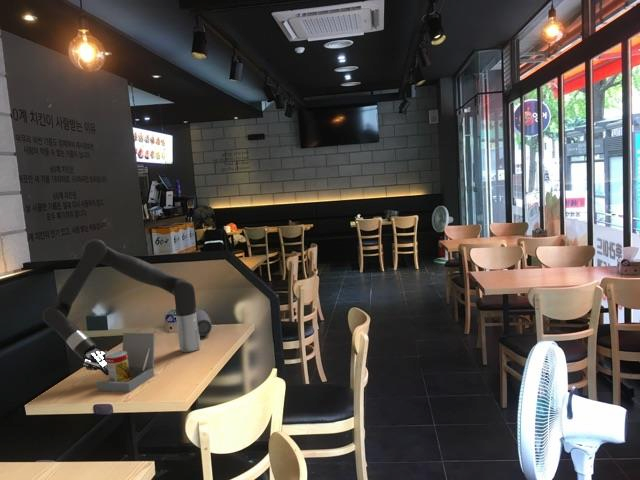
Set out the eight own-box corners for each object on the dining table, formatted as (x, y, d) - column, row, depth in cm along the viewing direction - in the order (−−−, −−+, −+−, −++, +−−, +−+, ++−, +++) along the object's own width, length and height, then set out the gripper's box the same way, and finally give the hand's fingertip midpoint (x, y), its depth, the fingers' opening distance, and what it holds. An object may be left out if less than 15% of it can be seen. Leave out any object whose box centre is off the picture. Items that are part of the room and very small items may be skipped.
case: (97, 390, 207) (91, 348, 205) (129, 371, 226) (124, 332, 223) (129, 392, 202) (123, 349, 200) (160, 372, 221) (154, 332, 219)
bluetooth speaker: (191, 328, 284) (189, 310, 283) (209, 325, 287) (207, 307, 286) (195, 339, 263) (192, 320, 262) (213, 336, 266) (211, 317, 264)
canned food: (135, 379, 215) (131, 351, 214) (121, 387, 208) (116, 358, 206) (120, 378, 218) (116, 350, 217) (106, 385, 211) (101, 357, 209)
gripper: (73, 343, 209) (103, 374, 206) (96, 332, 221) (125, 361, 219) (64, 355, 211) (93, 386, 209) (88, 344, 223) (116, 373, 221)
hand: (109, 373), depth 214 cm, fingers closed
